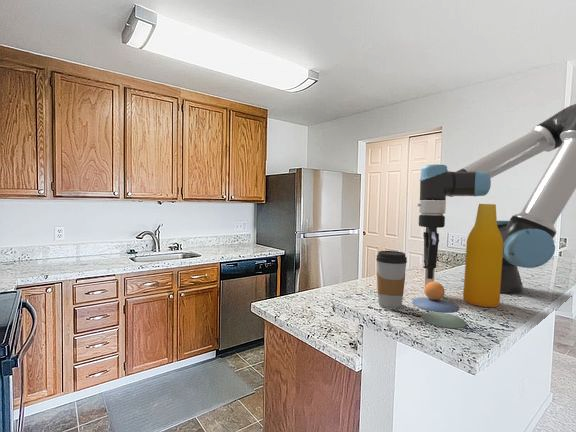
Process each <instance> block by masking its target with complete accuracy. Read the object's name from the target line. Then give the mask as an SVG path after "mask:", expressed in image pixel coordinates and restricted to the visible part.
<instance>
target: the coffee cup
mask: <svg viewBox="0 0 576 432" xmlns="http://www.w3.org/2000/svg"><path fill="white" fill-rule="evenodd" d="M377 252H378V253H377V255H376V260H375V261H376V285H377V288H376V289H377V301H378V305H379V306H381V307H382V308H384V309H390V308H392V309H393V308H394V309H396V308H397V309H400V308H401V306H402V305H403V297H404V289H405V281H406V267H407V263H408V260H407V259H408V258H407V257H408V256H406V253H405V252H402V251H397V250H379V251H377ZM392 309H391V310H392ZM394 309H393V310H394Z"/></svg>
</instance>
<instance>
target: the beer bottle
mask: <svg viewBox="0 0 576 432" xmlns="http://www.w3.org/2000/svg"><path fill="white" fill-rule="evenodd" d="M497 221H498V220H497V206H496V204H494V203H492V204H491V203H478V207H477V212H476V217H475V222H474V225H473V227H472V229H471V230H470V232H469V233H468V235H467V239H466V244H465V245H466V248H465V267H464V281H463V282H464V283H463V293H462V295H463V296H462V297H463V300H464V302H466V303H468V304H470V305H474V306H478V307H484V308H496V307H498V306H499V305H500V302H501V301H500V300H501V292H500V287H501V272H502V258H503V238H502V236H501V233H500V231H499V229H498V226H497Z"/></svg>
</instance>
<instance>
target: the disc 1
mask: <svg viewBox="0 0 576 432" xmlns="http://www.w3.org/2000/svg"><path fill="white" fill-rule="evenodd" d="M412 304H413V305H414V306H415V307H417V308H420V309H422V310H426V311H430V312H439V313H453V312H457V311H458V310H459V306H458V305H457V304H456V303H454V302H451V301H449V300H445V299H443V298H441V299H440V300H431V299H429V298H428V297H417V298H414V299H413V300H412Z"/></svg>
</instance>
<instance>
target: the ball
mask: <svg viewBox="0 0 576 432" xmlns="http://www.w3.org/2000/svg"><path fill="white" fill-rule="evenodd" d="M445 293H446V291H445V287H444V286H443V285H442V284H441V283H440V282H437V281H434V282H429V283H428V284H427V285H426V286H425V288H424V294H425V296H426V298H429V299H431V300H440V299H443V297H444V296H445Z"/></svg>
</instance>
